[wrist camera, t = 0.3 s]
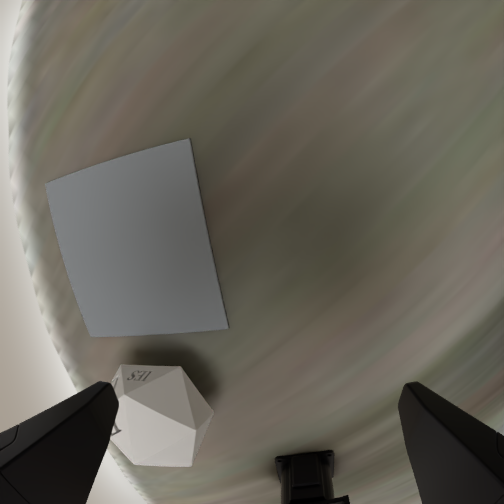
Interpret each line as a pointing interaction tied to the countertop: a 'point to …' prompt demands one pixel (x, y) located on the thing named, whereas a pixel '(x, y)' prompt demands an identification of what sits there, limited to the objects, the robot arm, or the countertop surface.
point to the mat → (138, 244)
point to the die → (159, 415)
